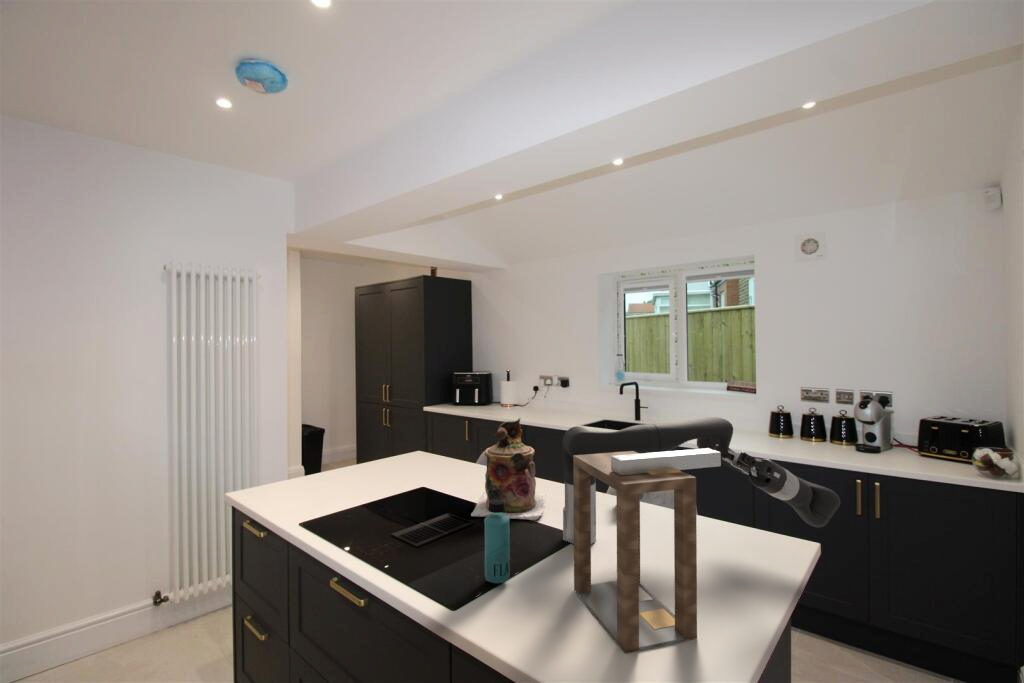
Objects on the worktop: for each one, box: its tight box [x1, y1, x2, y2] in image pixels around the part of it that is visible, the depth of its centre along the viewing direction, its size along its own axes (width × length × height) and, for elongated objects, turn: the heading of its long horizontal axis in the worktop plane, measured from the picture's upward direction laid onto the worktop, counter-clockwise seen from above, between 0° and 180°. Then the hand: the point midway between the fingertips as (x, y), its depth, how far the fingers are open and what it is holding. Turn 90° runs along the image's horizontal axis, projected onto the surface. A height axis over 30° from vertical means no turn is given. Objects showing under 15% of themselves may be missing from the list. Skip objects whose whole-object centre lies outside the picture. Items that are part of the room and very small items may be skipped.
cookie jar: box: [470, 417, 548, 521], centre depth 169 cm, size 25×25×32 cm
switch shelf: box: [573, 451, 698, 654], centre depth 103 cm, size 16×24×32 cm, turn 16°
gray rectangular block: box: [611, 448, 722, 475], centre depth 100 cm, size 24×4×3 cm, turn 106°
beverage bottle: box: [483, 500, 511, 584], centre depth 116 cm, size 6×7×20 cm
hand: (727, 451), depth 115 cm, fingers open, 8 cm apart
